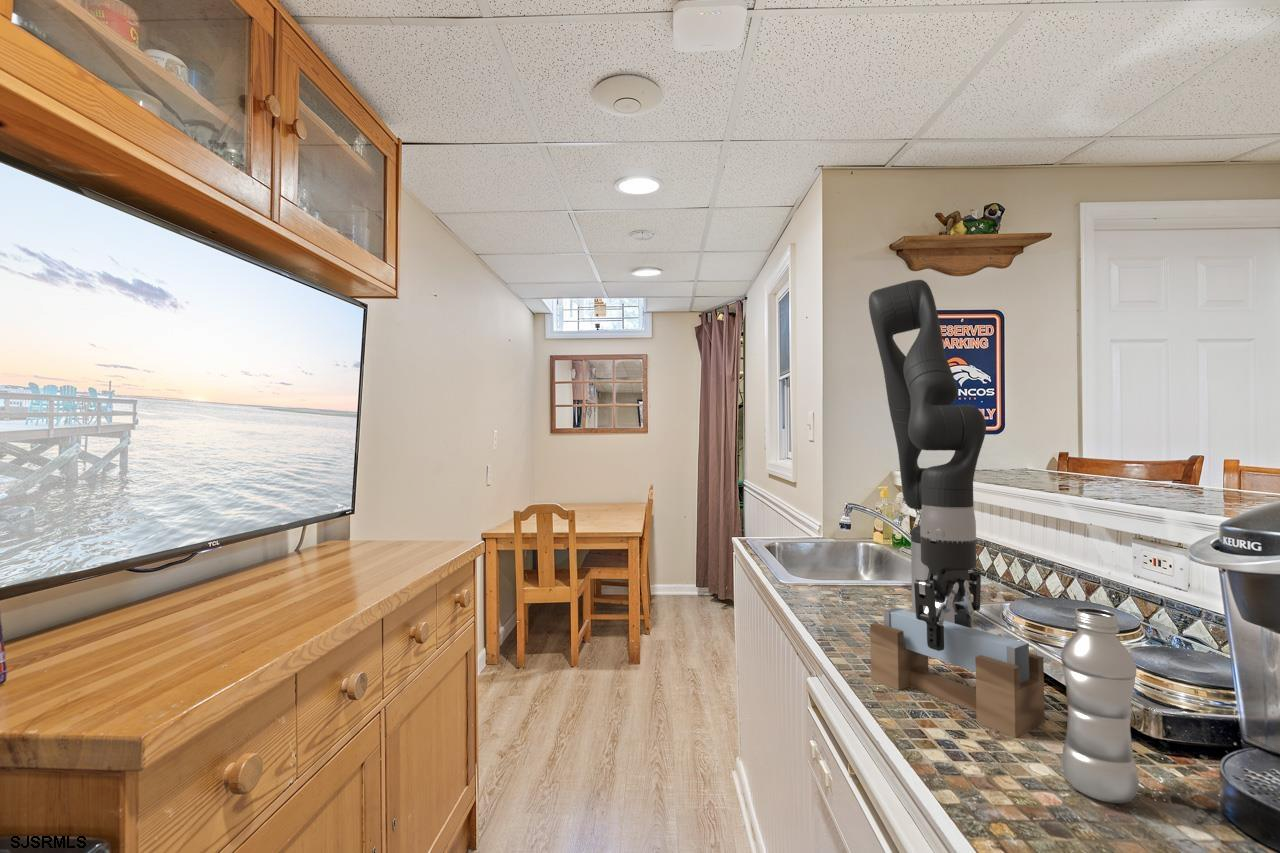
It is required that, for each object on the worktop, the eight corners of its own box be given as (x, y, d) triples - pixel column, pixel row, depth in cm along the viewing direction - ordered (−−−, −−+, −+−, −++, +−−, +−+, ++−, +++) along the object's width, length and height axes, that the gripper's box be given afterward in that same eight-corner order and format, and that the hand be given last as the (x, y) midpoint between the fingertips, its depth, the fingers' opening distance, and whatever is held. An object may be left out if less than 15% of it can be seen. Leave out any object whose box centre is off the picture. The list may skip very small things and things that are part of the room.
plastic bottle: (1067, 769, 68) (1063, 600, 68) (1143, 794, 63) (1138, 612, 64) (1056, 793, 63) (1052, 611, 64) (1137, 822, 59) (1131, 625, 59)
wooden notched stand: (900, 669, 98) (900, 616, 98) (1044, 722, 79) (1043, 657, 80) (870, 679, 94) (870, 624, 94) (1015, 738, 75) (1013, 668, 75)
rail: (898, 637, 96) (898, 607, 97) (1029, 679, 79) (1028, 643, 79) (884, 642, 94) (883, 611, 94) (1015, 685, 77) (1014, 648, 77)
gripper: (950, 528, 94) (952, 629, 94) (896, 535, 87) (898, 646, 86) (998, 534, 88) (1000, 643, 87) (944, 543, 80) (946, 662, 80)
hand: (949, 644), depth 87 cm, fingers open, 6 cm apart
